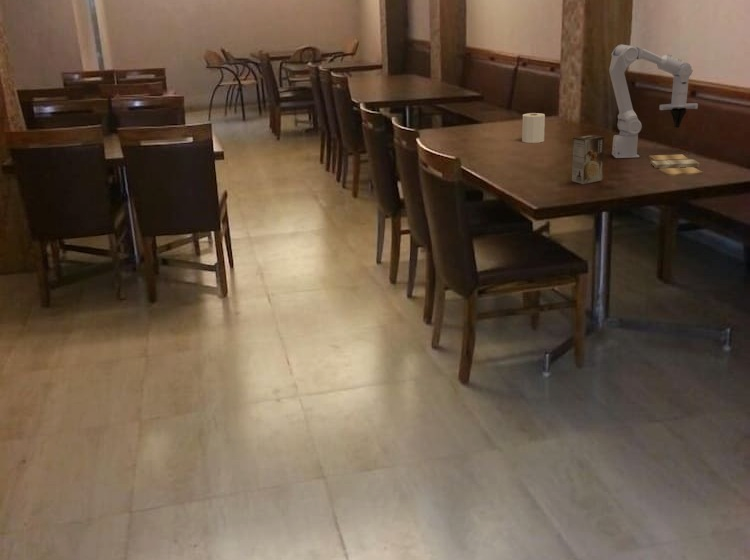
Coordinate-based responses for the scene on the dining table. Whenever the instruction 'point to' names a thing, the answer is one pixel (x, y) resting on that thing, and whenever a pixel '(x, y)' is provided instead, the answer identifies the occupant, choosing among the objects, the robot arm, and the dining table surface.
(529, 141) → the toilet paper
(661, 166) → the floor board
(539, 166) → the dining table surface
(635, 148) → the robot arm
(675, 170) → the plank
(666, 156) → the board
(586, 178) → the coffee box
